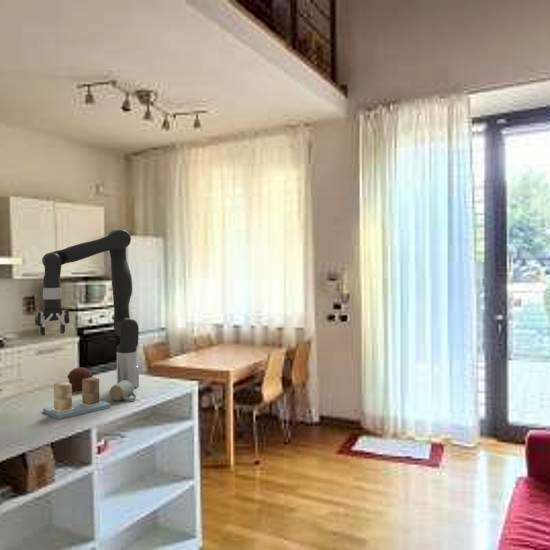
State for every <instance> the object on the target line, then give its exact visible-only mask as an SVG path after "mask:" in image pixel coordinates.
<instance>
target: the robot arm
mask: <svg viewBox="0 0 550 550" xmlns="http://www.w3.org/2000/svg"><path fill="white" fill-rule="evenodd" d="M131 240H132V237H131V235H130V233H129V232H128V231H127V230H125V229H113V230H112V231H110V232H109V233H108V235H106V236H104V237H101V238H97V239H95V240H90V241H85V242H82V243H78V244H74V245H71V246H68V247H66V248H63V249H59V250H56V251H51V252H48V253H45V254H44V255H43V256H42V259H41V263H42V265H43V266H44V276H43V282H42V283H43V284H42V285H43V288H42V289H43V291H42V305H43V306H42V308H43V310H42V311H41V312H39V311H36V312H35V317H34V318H35V321H34V324H35V326H36V327H39V333H40V335H41V336H42V337H43V336H45V335H46V325H47V323H49V322H54V321H55V322H56V321H57V322H58V323H59V324H60V326H59V328H60V329H59V332H60V334H65V332H66V325H67V324H69V323H70V313H69V309H64V310H62V289H61V288H62V286H61V285H62V283H61V274H62V273H61V271H62V266H63V265H66V264H71V263H75V262H78V261H81V260H84V259H87V258H89V257H90V258H91V257H93V256H96V255H97V254H101V253H105V252H107V251H109V256H110V271H111V272H110V274H111V289H112V301H113V330H114V333H115V334H116V335H117V336H119V339H120V340H119V344H117V346H116V384H117V383H119V382H121V381H123V380H127V381H129V382H130V383H131V384H132V386H133V389H135V387H136V388H137V386H138V387H139V386H140V384H139V383H140V380H139V379H140V377H139V376H140V374H139V373H140V369H139V366H138V365H137V364H138V362H137V361H138V357H137V356H138V352H137V349H138V346H139V335H140V334H139V331H140V330H139V323H138V322H137V321H136V319H134V318H131V317H130V311H129V309H130V308H129V307H130V306H129V305H130V301H131V298H132V295H133V281H132V279H133V278H132V273H131V271H130V267H129V264H128V261H127V248H128V247H129V246H130V244H131V242H132V241H131ZM62 315H63V318H62ZM42 317H43V318H42Z"/></svg>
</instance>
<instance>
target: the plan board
mask: <svg viewBox="0 0 550 550" xmlns="http://www.w3.org/2000/svg"><path fill="white" fill-rule="evenodd" d="M99 402H100V403H96V404H91V405H86V404H84V403H82V399H80V400H75V401H72V409H68V410H64V411H58V410H56V409H54V405H52V406H51V405H50V406H47V407H43V408H42V413H44V412H45V414H46V413H47V415H49V416H51V417H53V418H55V419H57V420H61V419H66V418H70V417H74V416H79V415H84V414H87V413H91V412H95V411H96V412H97V411H100V410H106V409H109V408H111V407H112V405H111V403H110V402H108V401H107V402H106V401H104V400H101V399H99Z"/></svg>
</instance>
